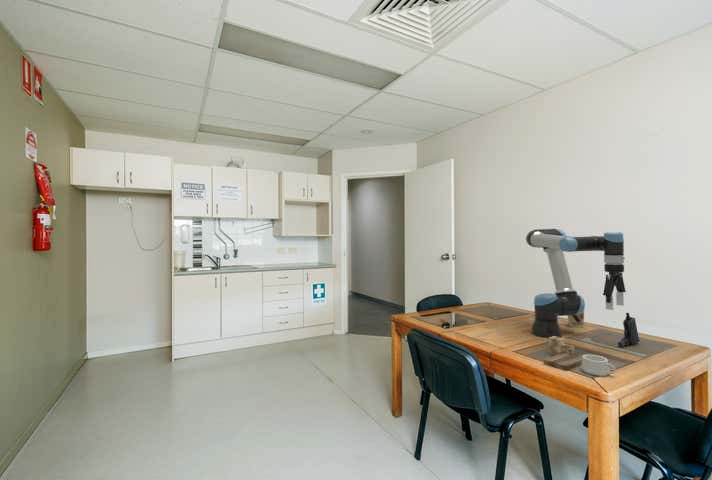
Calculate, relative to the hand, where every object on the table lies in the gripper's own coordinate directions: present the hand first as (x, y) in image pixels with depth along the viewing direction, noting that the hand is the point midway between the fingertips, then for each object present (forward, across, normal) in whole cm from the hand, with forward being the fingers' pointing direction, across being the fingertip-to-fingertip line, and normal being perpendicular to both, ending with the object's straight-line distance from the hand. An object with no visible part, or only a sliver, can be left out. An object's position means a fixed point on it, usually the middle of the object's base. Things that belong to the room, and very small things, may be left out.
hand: (614, 307), depth 160 cm
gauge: (+22, -23, +14) cm, 35 cm away
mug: (+22, -33, -4) cm, 40 cm away
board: (+22, -30, +9) cm, 39 cm away
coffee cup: (+23, +37, +32) cm, 54 cm away
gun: (+23, +18, 0) cm, 29 cm away
